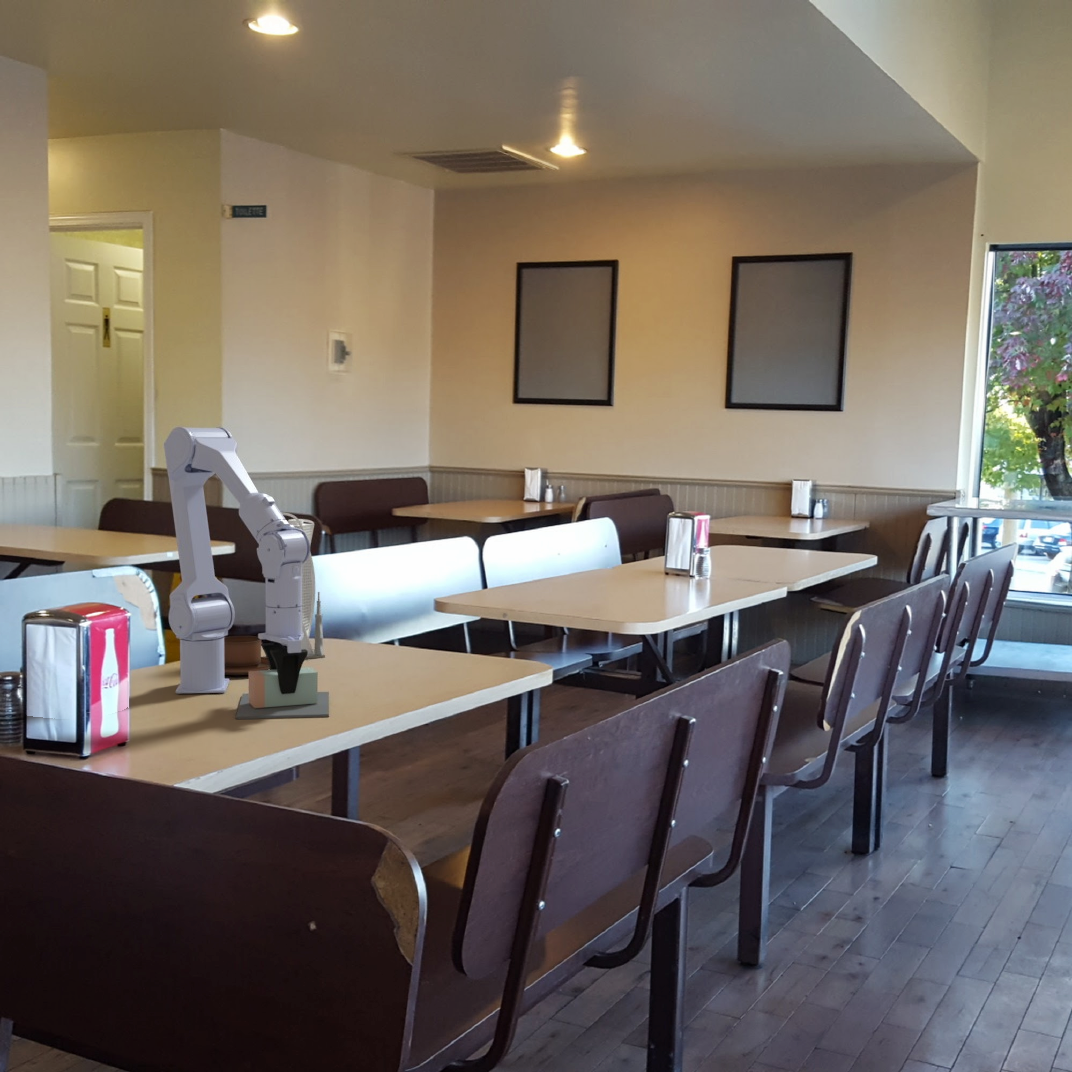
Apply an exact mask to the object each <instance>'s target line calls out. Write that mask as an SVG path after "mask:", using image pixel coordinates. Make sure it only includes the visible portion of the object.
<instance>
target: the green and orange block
mask: <svg viewBox="0 0 1072 1072" xmlns="http://www.w3.org/2000/svg"><path fill="white" fill-rule="evenodd" d="M318 673H319V672H318V671H317V670H315V669H314V668H313V667H311V666H310V667H309V666H308V667H301V670H300V673H299V677H298V682H297V687H296V691H295V693H291V694H282V693H281V691H280V687H279V680H278V673H277V669H276V670H270V669H269V670H261V671H249V675H248V693H249V703H250V704H251V705H252V706H253V707H254V708H264V707H276V706H289V705H302V704H314V703H318V692H319V690H318V688H319V687H318V681H319V680H318V679H319V678H318Z"/></svg>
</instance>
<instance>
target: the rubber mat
mask: <svg viewBox="0 0 1072 1072" xmlns="http://www.w3.org/2000/svg"><path fill="white" fill-rule="evenodd" d="M329 695H330V692H329V691H318V703H314V704H302V705H289V706H276V707H264V708H254V707H253V706H252V705H251V704H250V703H249V692H248V693H242V696H241V699H240V701H239V705H238V708H237V711H236V714H235V720H249V719H251V720H253V719H256V720H257V719H291V718H292V719H294V718H296V719H297V718H298V719H299V718H301V719H302V718H327V717H330V697H329Z"/></svg>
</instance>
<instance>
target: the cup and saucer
mask: <svg viewBox="0 0 1072 1072" xmlns="http://www.w3.org/2000/svg"><path fill="white" fill-rule="evenodd" d="M261 644H262V639H259V638H258V636H253V635H232V636H224V670H225V675H226V676H249V671H261V670H270V667H269V663H268V660H267V657H264V656H262V646H261Z"/></svg>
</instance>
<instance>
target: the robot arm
mask: <svg viewBox="0 0 1072 1072" xmlns="http://www.w3.org/2000/svg"><path fill="white" fill-rule="evenodd" d="M163 448H164V456H165V463H166V471H167V477H168V485H169V490H170V491H169V492H170V499H171V507H172V514H173V522H174V530H175V537H176V544H177V553H178V560H179V561H178V562H179V566H180V567H179V569H180V576H181V577H180V578H181V582H180V583H179V585H178V586H177V587H175V589H173V590H172V592H171V593H170V594H169V602H170V604H169V605H170V606H169V610H168V623H169V627H170V629H171V630H172V632H173V633H174V634H175V638H176V639H179V653H180V655H179V656H180V658H179V659H180V662H179V664H180V683H179V684H178V686H177V687H176V690H175V693H176V694H210V693H211V694H212V693H213V694H214V693H215V694H216V693H220V694H221V693H222V694H223V693H226V691H227V688H228V685H229V683H230V678H225V670H224V637H227V636H228V635H229V630H230V629H231V628H232V627H233V624H234V623H235V616H236V612H235V607H234V604H233V603H232V600H231V598H230V594H229V589H228V586H227V585H225V584H224V583H223V582H221V581H220V580H219V579H218V578H217V577H216V576H215V575H216V574H215V569H214V568H215V566H214V560H213V559H214V558H213V553H212V546H211V545H212V544H211V537H210V529H209V522H208V514H207V507H206V506H207V505H206V500H205V493H204V485H206V482H207V481H208V479H210V478H211V477H213V476H214V475H216V476H217V477H218V478H219V479H220V481H221V482H222V484H223V485H224V486H225V487H226V488H227V490H228V491H229V492H230V494H231V495H232V496H233V497H234V499H236V501H237V502H238V503H239V508H238V516H239V517H240V519H241V521H242V522H243V524H244V525H245V526H246V528H247V529H248V531H249V532H250V533H251V535H252V537H253V538H254V540H255V541H256V542H257V544H258V547H257V548H256V553H257V558H258V560H259V562H260V564H261V567H262V568H261V569H262V572H261V574H262V575H263V578H264V579H265V631H264V632H261V633H258V634H257V637H258V638H259V639H261V640H267V641H270V642H265V643H261V649H262V650H263V652H264V654H265V656H266V657H265V658H267V660H268V663H269V667H270V669H269V670H276V669H277V673H278V680H279V687H280V691H281V693H282V694H291V693H295V691H296V687H297V682H298V677H299V673H300V670H301V668H303V664H304V661H305V660H306V659H305V658H306V656H307V654H308V651H307V650H306V649H303V650H301V641H302V639H303V637H304V633H303V632H302V564H303V563H304V562H305V561H306V560H307V559H308V557H309V554H310V552H311V545H310V542H309V539H308V537H307V536H306V533H305V532H304V531H303V530H302V529H299V528H295V527H294V526H293V525H289V523H288V520H287V519H286V518H285V515H282V513H281V512H282V511H280V509H279V508H278V506H277V504H276V501H275V499H274V498H273V496H270V495H269V494H266V493H263V492H261V493H260V492H259V491H258V489H257V488H256V486H255V484H254V483H253V481H252V479H251V477H250V476H249V473H248V472H247V470H246V468H245V467H244V464H243V463H242V462H241V459H240V458H239V457H238V443H237V441H236V440H235V439H234V437H233V435H232V433H231V432H230V431H229V430H228V429H227V428H226V427H223V426H219V427H184V426H177V427H174V428H173V429H172V430H171V431H170V432H169V434H168V436H167V438H166V439H165V442H164V443H163ZM196 596H205V597H199V598H194V597H196Z"/></svg>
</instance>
